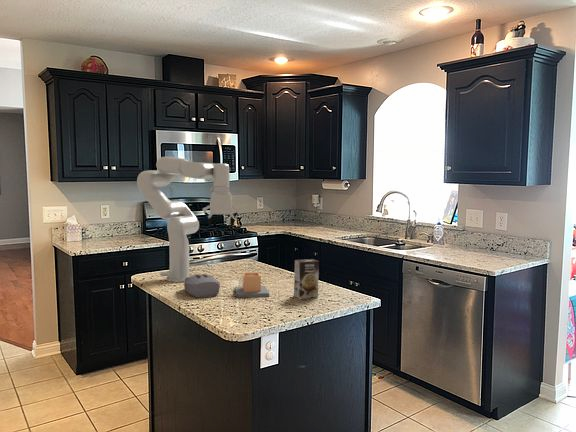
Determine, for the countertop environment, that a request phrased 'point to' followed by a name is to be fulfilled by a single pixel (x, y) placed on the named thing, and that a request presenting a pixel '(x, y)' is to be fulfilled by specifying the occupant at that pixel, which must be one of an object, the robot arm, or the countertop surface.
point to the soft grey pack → (202, 285)
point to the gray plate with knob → (241, 293)
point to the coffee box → (306, 278)
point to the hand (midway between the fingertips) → (221, 226)
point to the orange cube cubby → (252, 282)
